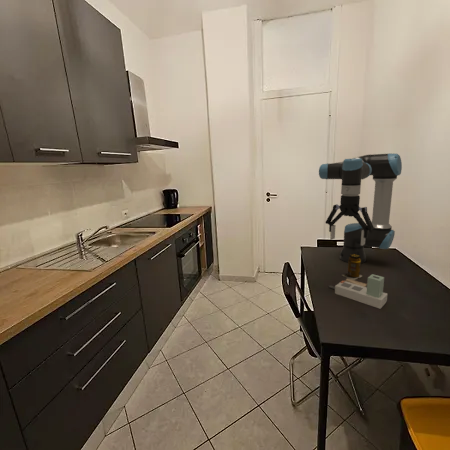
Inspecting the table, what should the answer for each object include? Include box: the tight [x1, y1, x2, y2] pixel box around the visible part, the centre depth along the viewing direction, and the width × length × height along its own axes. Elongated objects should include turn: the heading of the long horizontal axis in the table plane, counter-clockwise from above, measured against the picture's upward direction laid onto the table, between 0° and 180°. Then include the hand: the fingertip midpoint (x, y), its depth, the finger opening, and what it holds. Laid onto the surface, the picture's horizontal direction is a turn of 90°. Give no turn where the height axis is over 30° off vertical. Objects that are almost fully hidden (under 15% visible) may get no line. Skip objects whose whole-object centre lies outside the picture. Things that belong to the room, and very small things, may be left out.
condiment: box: [341, 254, 363, 281], centre depth 143 cm, size 7×8×12 cm
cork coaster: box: [344, 277, 367, 287], centre depth 133 cm, size 10×10×1 cm
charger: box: [366, 273, 385, 298], centre depth 116 cm, size 5×5×10 cm
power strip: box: [328, 280, 388, 310], centre depth 123 cm, size 25×8×4 cm, turn 43°
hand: (347, 241), depth 118 cm, fingers open, 13 cm apart
